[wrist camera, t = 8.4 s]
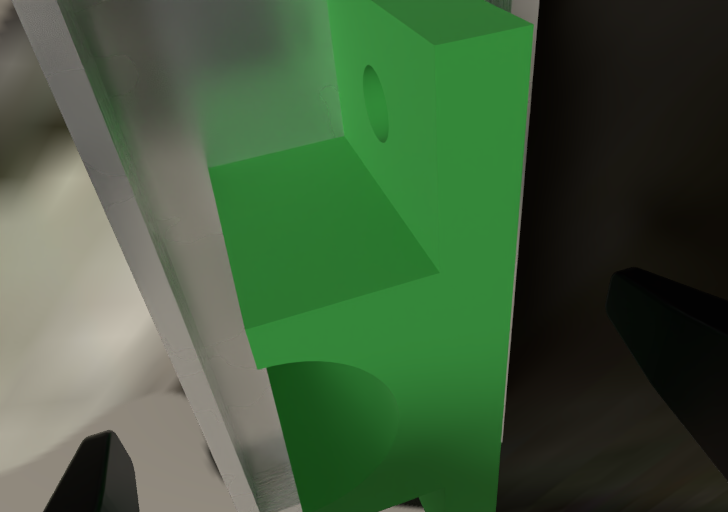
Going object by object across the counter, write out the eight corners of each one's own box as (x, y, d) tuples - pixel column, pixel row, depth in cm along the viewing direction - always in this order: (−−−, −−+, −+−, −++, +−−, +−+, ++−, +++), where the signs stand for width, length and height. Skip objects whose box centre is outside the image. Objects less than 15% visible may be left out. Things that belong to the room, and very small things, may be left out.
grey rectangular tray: (470, 390, 18) (502, 442, 17) (236, 470, 17) (246, 533, 15) (486, -188, 9) (554, -191, 8) (-7, -123, 8) (-38, -112, 7)
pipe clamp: (154, -7, 9) (170, 96, 5) (385, -49, 10) (536, 18, 6) (287, 437, 16) (333, 613, 12) (417, 393, 16) (496, 548, 13)
